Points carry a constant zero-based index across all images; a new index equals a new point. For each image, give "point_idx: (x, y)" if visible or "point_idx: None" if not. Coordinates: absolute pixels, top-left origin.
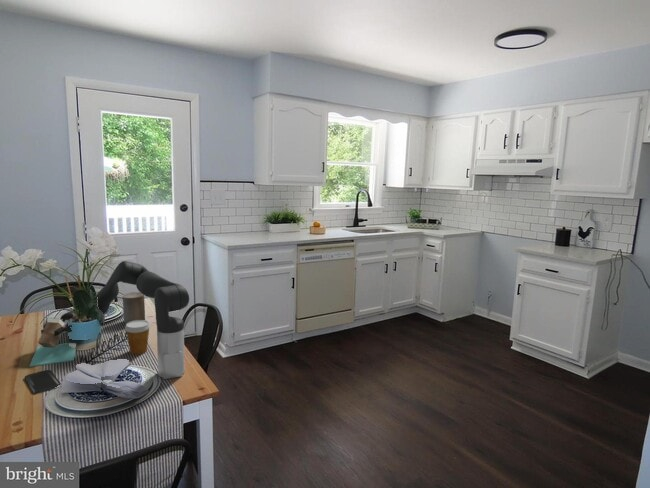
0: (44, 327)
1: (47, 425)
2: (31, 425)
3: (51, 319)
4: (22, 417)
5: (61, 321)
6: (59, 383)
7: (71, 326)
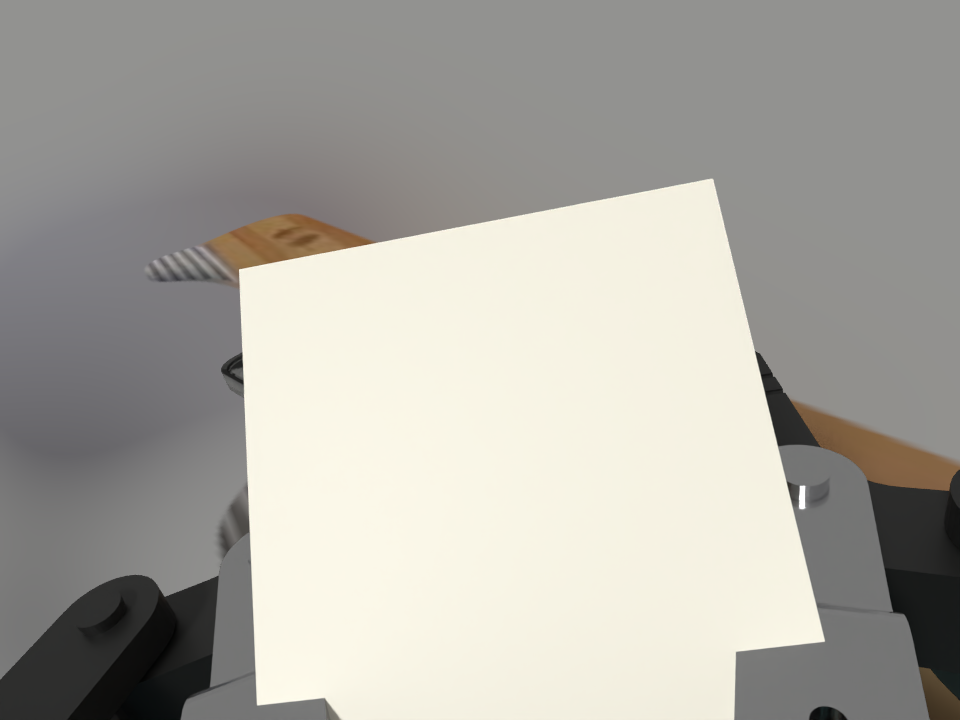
0: (946, 500)
1: (201, 258)
2: (253, 246)
3: (576, 217)
4: (303, 251)
5: (261, 415)
6: (231, 374)
7: (27, 684)
